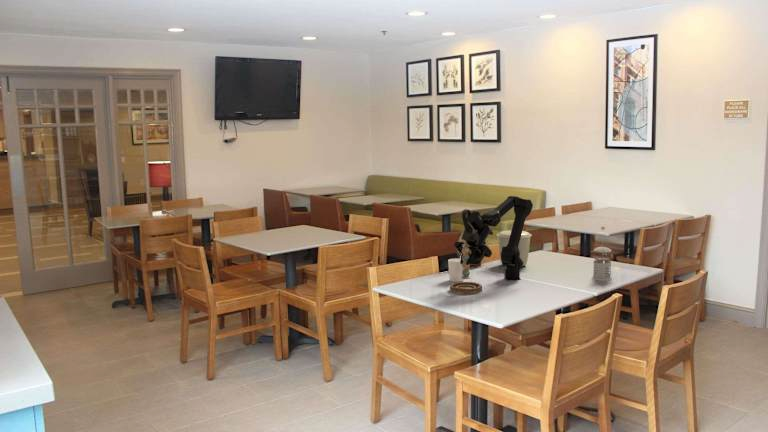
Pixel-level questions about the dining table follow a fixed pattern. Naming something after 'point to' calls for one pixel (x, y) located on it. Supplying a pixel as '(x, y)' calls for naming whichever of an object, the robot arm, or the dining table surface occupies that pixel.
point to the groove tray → (465, 288)
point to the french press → (602, 265)
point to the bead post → (465, 267)
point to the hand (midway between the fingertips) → (463, 264)
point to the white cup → (455, 270)
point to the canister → (523, 244)
